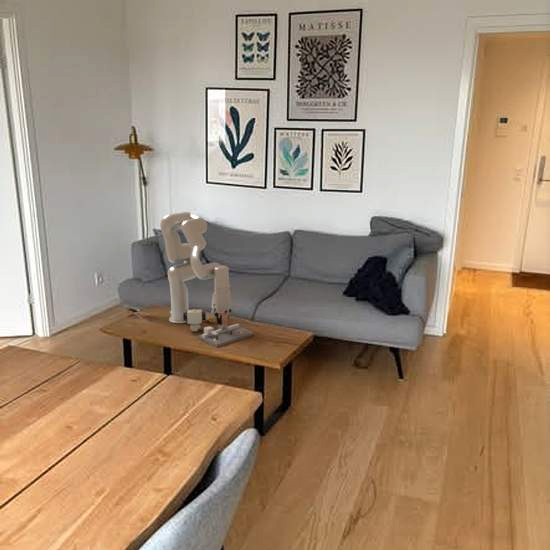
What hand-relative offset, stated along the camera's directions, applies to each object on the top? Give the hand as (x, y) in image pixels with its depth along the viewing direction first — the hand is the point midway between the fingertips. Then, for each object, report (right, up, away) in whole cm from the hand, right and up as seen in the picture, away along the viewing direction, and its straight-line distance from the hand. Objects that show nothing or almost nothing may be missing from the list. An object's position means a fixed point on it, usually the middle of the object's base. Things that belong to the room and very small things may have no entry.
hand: (222, 322), depth 283 cm
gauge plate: (+2, -7, -2) cm, 8 cm away
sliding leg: (+2, -5, -1) cm, 5 cm away
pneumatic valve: (-15, -5, +8) cm, 18 cm away
